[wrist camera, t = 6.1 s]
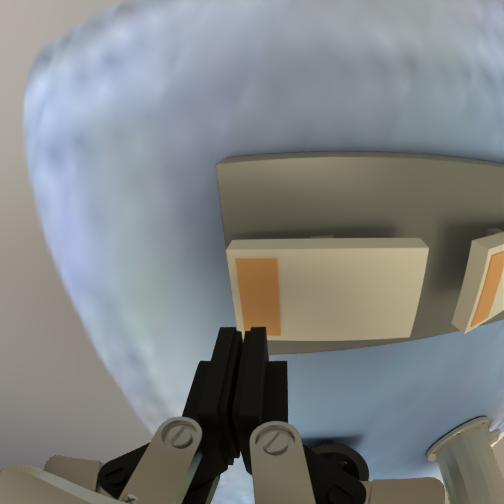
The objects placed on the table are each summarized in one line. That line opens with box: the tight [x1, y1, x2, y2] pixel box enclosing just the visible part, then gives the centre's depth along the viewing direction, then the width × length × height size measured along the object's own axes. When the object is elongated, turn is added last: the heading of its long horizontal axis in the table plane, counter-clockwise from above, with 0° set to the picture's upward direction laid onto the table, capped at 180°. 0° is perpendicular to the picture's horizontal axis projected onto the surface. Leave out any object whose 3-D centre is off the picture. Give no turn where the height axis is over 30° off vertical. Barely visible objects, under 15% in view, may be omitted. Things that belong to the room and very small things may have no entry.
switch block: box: [216, 151, 504, 355], centre depth 16 cm, size 22×12×5 cm, turn 95°
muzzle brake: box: [311, 440, 369, 481], centre depth 30 cm, size 10×28×10 cm, turn 177°
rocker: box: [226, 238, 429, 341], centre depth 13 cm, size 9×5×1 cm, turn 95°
